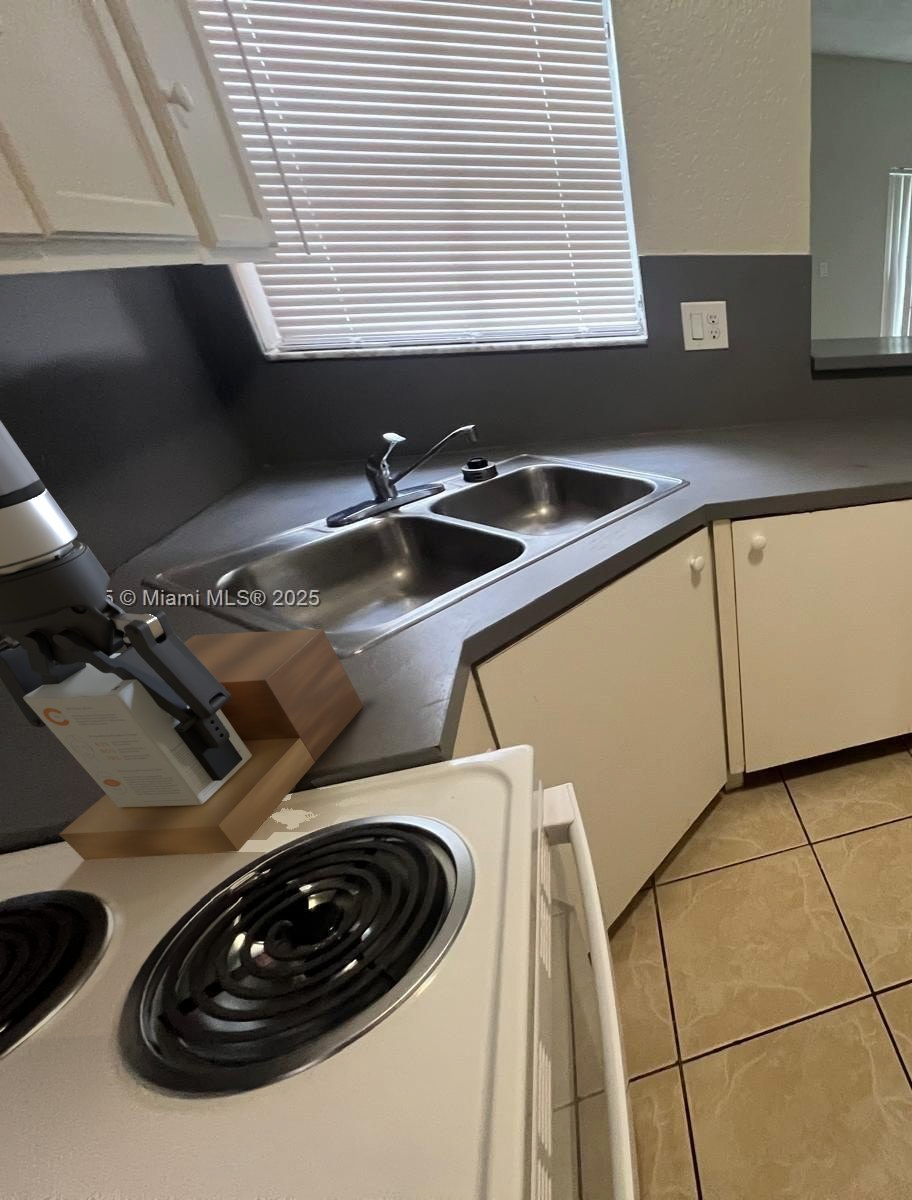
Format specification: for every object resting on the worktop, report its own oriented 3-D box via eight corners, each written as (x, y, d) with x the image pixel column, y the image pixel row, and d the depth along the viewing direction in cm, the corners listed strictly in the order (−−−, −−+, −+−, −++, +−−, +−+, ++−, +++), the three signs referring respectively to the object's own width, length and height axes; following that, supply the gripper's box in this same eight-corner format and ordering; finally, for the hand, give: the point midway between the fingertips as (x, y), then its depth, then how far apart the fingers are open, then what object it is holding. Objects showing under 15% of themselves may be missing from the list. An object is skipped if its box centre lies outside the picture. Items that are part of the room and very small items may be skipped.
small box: (255, 756, 62) (182, 649, 55) (202, 807, 57) (115, 695, 50) (175, 758, 62) (94, 651, 56) (115, 809, 57) (17, 698, 50)
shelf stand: (83, 859, 57) (-2, 773, 51) (245, 712, 74) (194, 634, 68) (238, 851, 57) (170, 764, 51) (363, 706, 74) (323, 628, 68)
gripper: (193, 529, 50) (317, 738, 62) (-67, 542, 50) (106, 749, 62) (108, 574, 44) (264, 797, 56) (-191, 589, 44) (28, 810, 56)
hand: (181, 772), depth 59 cm, fingers closed on small box, 8 cm apart
